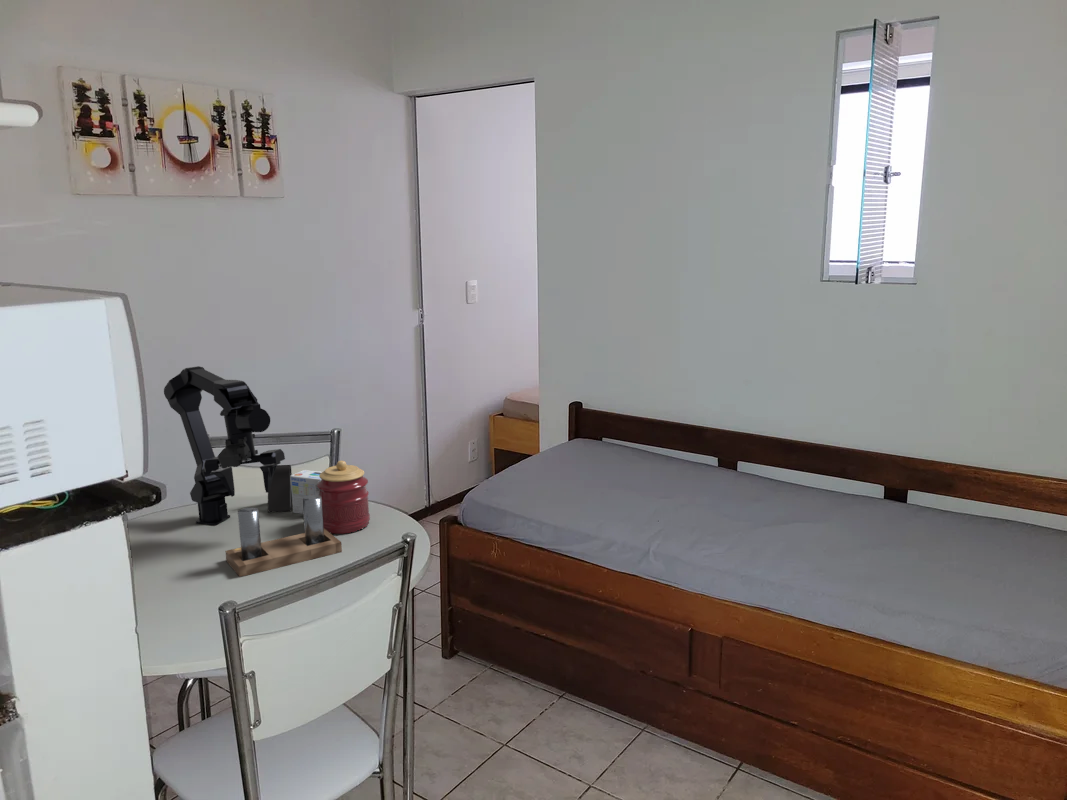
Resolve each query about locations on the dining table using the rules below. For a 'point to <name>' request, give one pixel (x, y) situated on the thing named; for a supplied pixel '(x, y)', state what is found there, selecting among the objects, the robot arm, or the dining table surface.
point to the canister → (344, 498)
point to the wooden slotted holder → (282, 553)
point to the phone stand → (280, 490)
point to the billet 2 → (313, 519)
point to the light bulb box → (303, 487)
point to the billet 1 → (249, 533)
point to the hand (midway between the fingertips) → (250, 494)
